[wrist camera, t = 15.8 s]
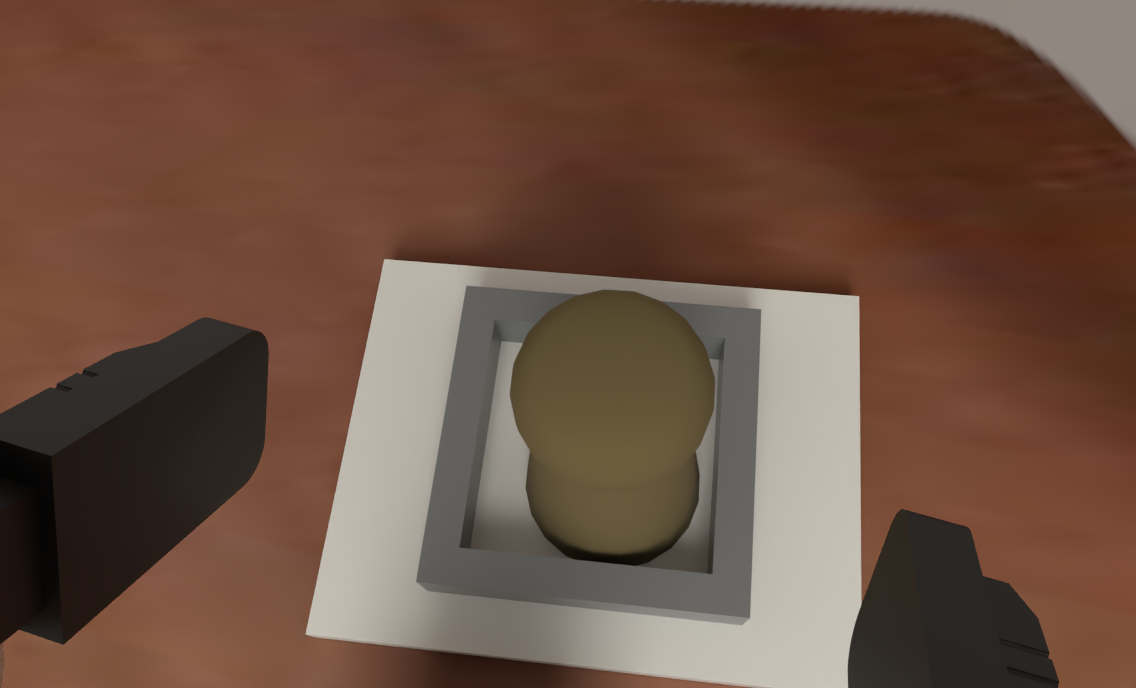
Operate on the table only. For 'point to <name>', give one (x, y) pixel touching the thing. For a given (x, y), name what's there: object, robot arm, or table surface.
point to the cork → (612, 424)
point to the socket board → (584, 588)
